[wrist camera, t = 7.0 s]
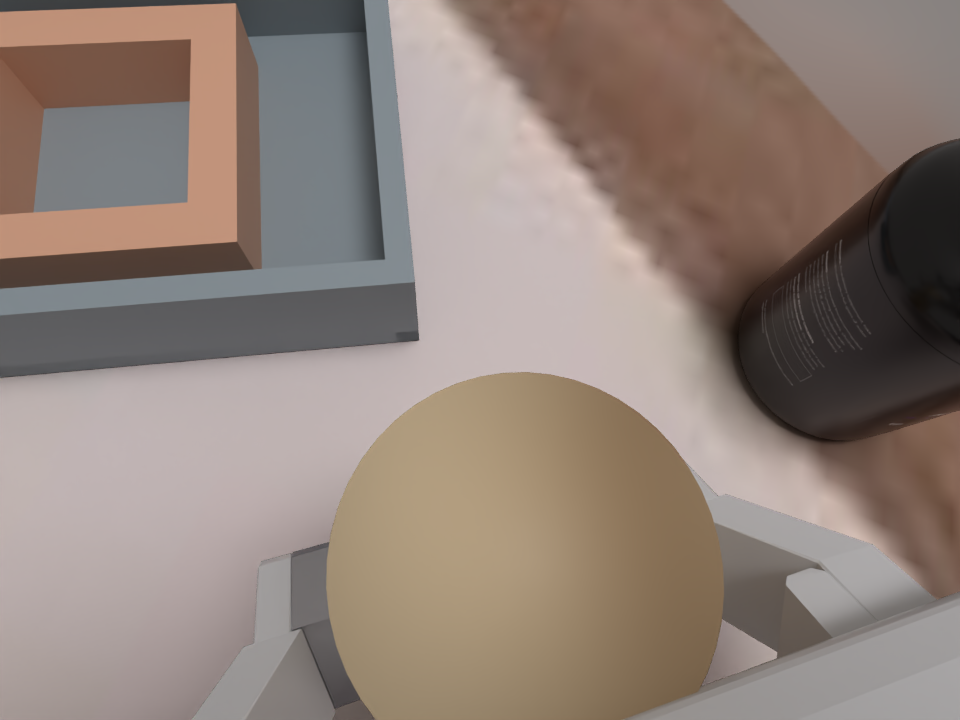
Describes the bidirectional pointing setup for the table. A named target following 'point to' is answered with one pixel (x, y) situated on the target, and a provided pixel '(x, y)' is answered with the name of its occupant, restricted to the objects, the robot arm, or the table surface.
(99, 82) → the open-top box
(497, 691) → the beech peg
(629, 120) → the table surface
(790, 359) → the supplement bottle
